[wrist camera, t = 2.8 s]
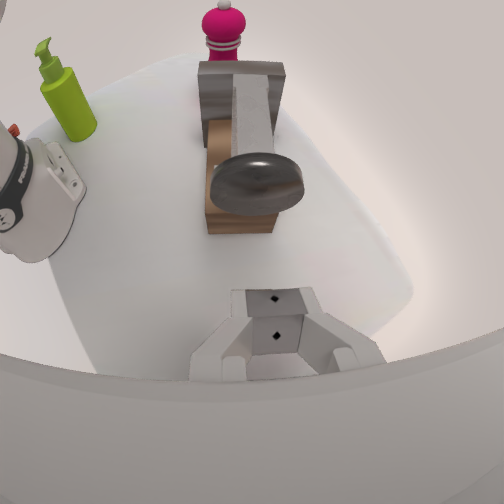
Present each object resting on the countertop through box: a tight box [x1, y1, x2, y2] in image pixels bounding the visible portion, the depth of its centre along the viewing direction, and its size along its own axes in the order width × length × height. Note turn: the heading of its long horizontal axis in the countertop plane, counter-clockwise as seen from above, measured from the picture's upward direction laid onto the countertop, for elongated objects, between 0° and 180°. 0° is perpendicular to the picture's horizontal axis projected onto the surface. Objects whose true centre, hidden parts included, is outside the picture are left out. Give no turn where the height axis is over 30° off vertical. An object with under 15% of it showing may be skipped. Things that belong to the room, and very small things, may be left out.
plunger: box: [210, 74, 304, 216], centre depth 24 cm, size 11×8×20 cm
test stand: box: [198, 61, 286, 234], centre depth 32 cm, size 17×10×14 cm, turn 3°
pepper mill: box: [202, 0, 246, 61], centre depth 34 cm, size 7×7×20 cm
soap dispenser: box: [34, 37, 97, 142], centre depth 31 cm, size 6×7×20 cm
